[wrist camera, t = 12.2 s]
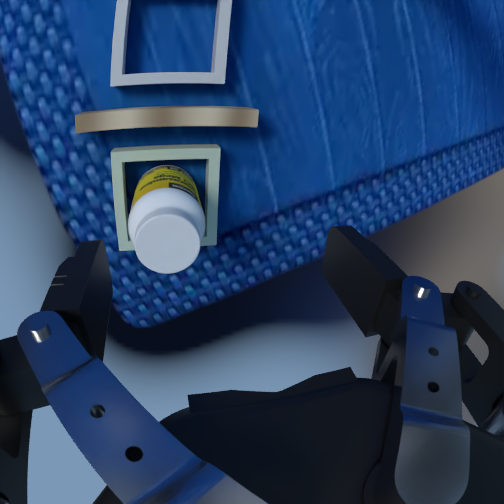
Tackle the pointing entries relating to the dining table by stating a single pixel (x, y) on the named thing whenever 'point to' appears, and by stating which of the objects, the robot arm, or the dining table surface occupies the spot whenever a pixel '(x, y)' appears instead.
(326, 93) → the dining table surface
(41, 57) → the dining table surface
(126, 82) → the keeper
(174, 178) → the pill bottle
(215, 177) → the keeper
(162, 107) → the edge strip
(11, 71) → the dining table surface
